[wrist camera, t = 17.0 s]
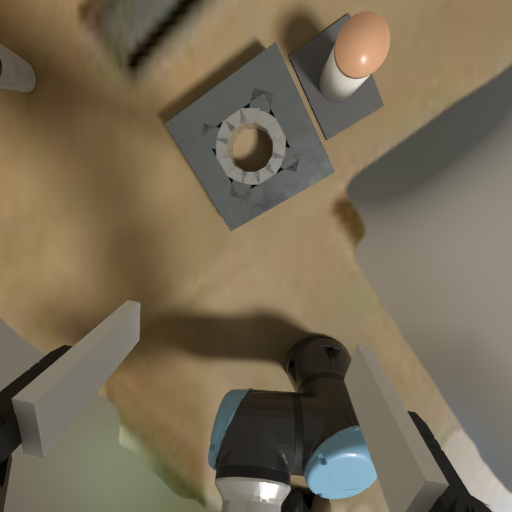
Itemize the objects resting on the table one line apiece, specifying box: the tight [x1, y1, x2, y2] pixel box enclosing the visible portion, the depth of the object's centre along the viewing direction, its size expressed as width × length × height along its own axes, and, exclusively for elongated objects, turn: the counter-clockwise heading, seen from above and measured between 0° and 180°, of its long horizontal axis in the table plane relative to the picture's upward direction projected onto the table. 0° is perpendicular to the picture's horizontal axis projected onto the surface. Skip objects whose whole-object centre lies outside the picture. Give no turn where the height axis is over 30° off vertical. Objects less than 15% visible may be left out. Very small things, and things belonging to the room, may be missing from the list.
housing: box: [165, 42, 335, 231], centre depth 40 cm, size 20×20×5 cm
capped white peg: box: [319, 12, 390, 103], centre depth 33 cm, size 6×6×11 cm
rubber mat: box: [289, 14, 384, 140], centre depth 38 cm, size 14×10×1 cm
